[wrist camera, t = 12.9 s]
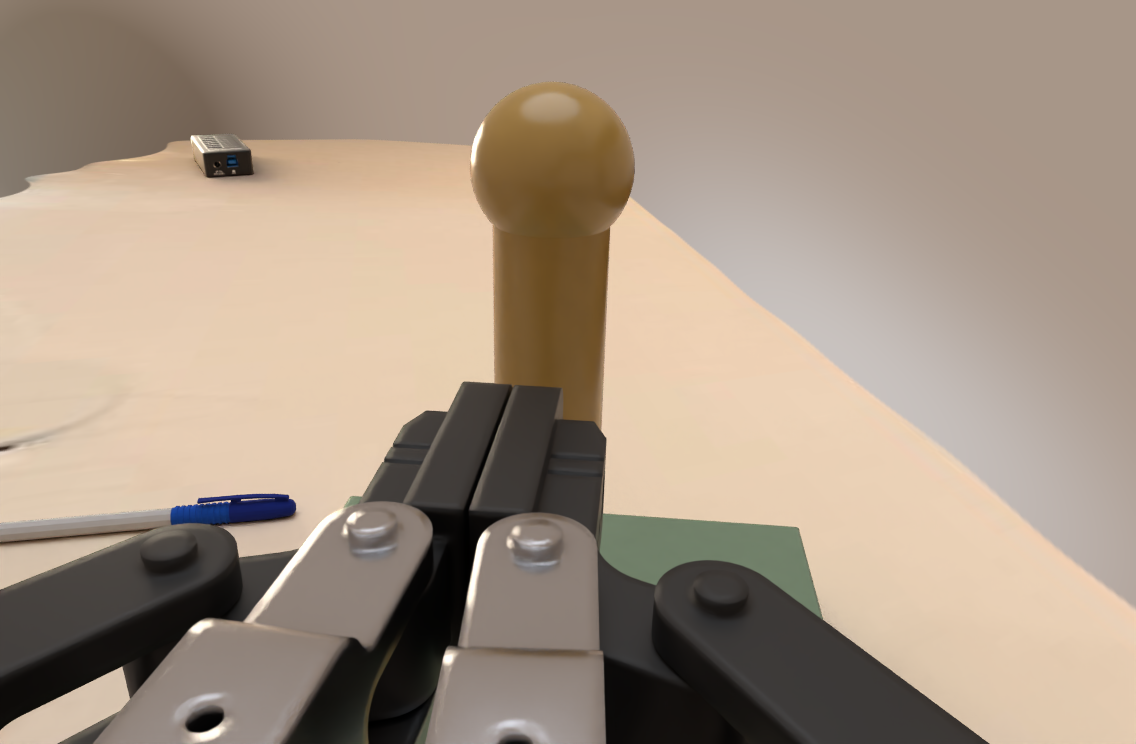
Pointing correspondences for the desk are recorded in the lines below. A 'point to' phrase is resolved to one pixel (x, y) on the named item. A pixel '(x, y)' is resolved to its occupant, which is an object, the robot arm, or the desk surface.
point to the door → (704, 549)
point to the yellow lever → (552, 234)
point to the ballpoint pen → (154, 517)
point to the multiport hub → (222, 155)
